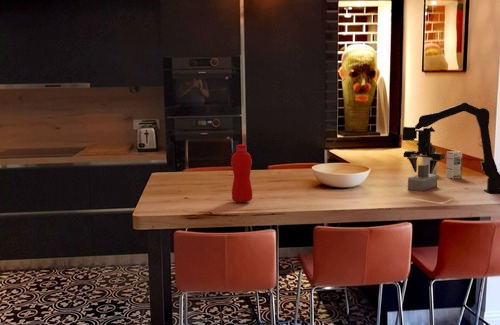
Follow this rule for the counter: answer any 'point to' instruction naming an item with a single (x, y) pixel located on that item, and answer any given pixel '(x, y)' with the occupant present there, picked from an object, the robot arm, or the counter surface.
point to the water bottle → (241, 174)
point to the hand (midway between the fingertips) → (423, 172)
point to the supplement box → (427, 161)
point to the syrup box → (454, 164)
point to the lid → (422, 173)
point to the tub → (422, 184)
